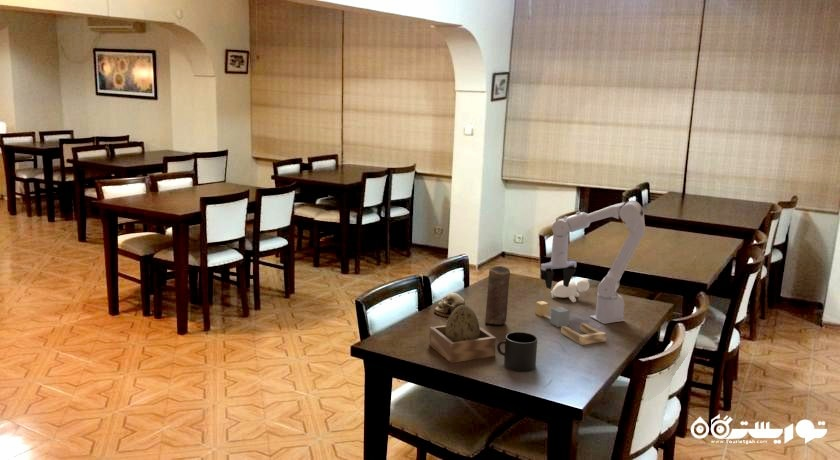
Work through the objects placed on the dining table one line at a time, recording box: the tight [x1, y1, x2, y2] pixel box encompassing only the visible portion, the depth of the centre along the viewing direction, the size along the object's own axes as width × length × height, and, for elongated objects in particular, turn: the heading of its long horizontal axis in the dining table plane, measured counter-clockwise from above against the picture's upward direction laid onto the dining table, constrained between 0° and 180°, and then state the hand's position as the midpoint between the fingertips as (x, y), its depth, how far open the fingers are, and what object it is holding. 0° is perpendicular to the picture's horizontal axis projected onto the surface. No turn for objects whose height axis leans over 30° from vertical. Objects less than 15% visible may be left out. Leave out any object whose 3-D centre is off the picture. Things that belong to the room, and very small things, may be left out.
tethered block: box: [535, 300, 571, 328], centre depth 252 cm, size 4×15×6 cm, turn 24°
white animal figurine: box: [550, 278, 590, 303], centre depth 278 cm, size 9×8×15 cm
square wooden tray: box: [428, 324, 497, 364], centre depth 221 cm, size 15×15×6 cm
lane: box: [560, 323, 607, 346], centre depth 236 cm, size 10×12×3 cm
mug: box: [496, 331, 538, 373], centre depth 211 cm, size 9×12×9 cm
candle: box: [484, 265, 511, 326], centre depth 245 cm, size 8×7×20 cm
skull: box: [434, 292, 466, 318], centre depth 257 cm, size 12×10×10 cm
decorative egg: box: [445, 304, 481, 342], centre depth 220 cm, size 11×11×15 cm
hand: (557, 287), depth 260 cm, fingers open, 7 cm apart
